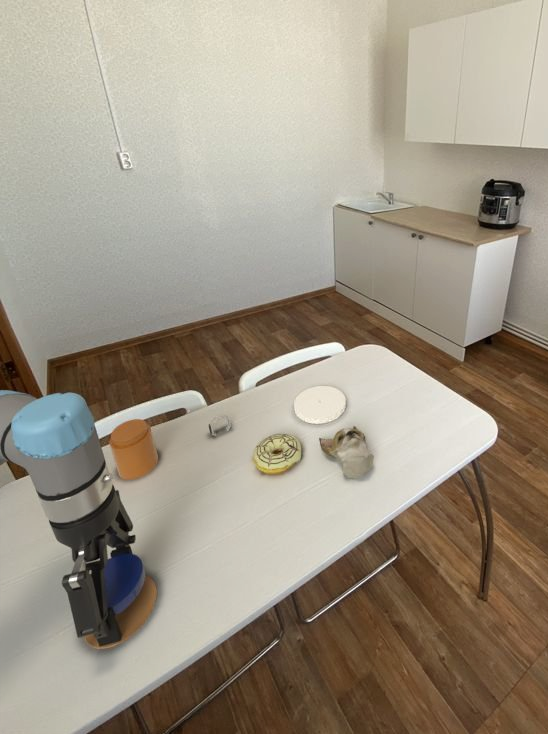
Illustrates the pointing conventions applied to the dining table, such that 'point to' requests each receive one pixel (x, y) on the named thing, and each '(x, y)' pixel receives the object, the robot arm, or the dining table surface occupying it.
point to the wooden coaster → (132, 614)
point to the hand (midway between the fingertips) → (120, 606)
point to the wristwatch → (216, 420)
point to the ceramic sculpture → (349, 451)
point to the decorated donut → (280, 462)
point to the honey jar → (133, 449)
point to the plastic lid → (320, 404)
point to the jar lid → (123, 580)
